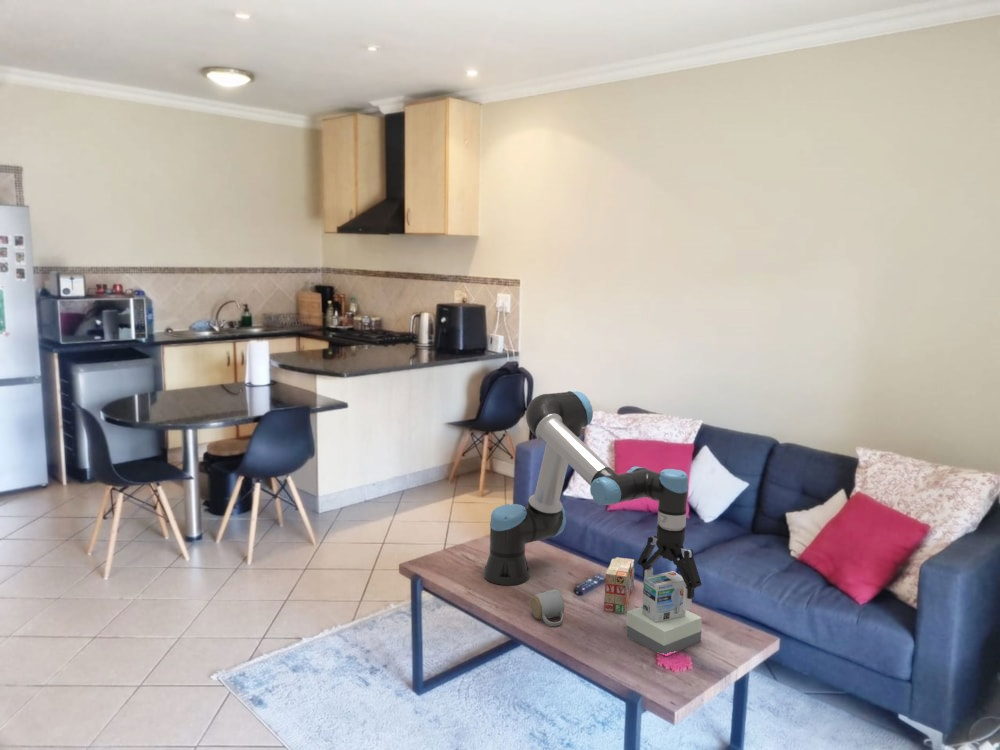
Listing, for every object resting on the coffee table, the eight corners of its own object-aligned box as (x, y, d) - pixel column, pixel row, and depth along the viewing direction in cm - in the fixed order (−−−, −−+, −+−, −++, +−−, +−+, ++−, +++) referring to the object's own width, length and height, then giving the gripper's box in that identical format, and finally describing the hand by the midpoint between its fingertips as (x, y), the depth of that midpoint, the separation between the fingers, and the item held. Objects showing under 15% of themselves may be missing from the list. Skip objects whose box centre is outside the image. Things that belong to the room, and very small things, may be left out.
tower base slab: (626, 638, 211) (627, 625, 210) (661, 624, 220) (661, 611, 220) (665, 659, 200) (666, 645, 199) (700, 643, 209) (701, 630, 209)
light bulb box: (655, 623, 204) (657, 585, 202) (640, 612, 210) (642, 576, 208) (686, 616, 208) (689, 579, 207) (671, 605, 214) (673, 570, 213)
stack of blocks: (614, 583, 246) (616, 547, 244) (633, 586, 244) (635, 550, 242) (603, 611, 226) (605, 572, 224) (624, 614, 224) (626, 575, 222)
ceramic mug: (528, 613, 223) (529, 589, 222) (552, 608, 227) (553, 585, 225) (545, 630, 214) (546, 604, 212) (570, 624, 217) (571, 600, 216)
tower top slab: (626, 625, 211) (627, 611, 210) (662, 611, 219) (663, 598, 219) (664, 645, 199) (665, 631, 199) (701, 631, 208) (701, 617, 208)
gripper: (627, 516, 212) (623, 587, 215) (700, 542, 193) (695, 620, 196) (645, 511, 217) (641, 581, 220) (718, 536, 197) (712, 612, 201)
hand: (666, 599), depth 208 cm, fingers open, 13 cm apart
